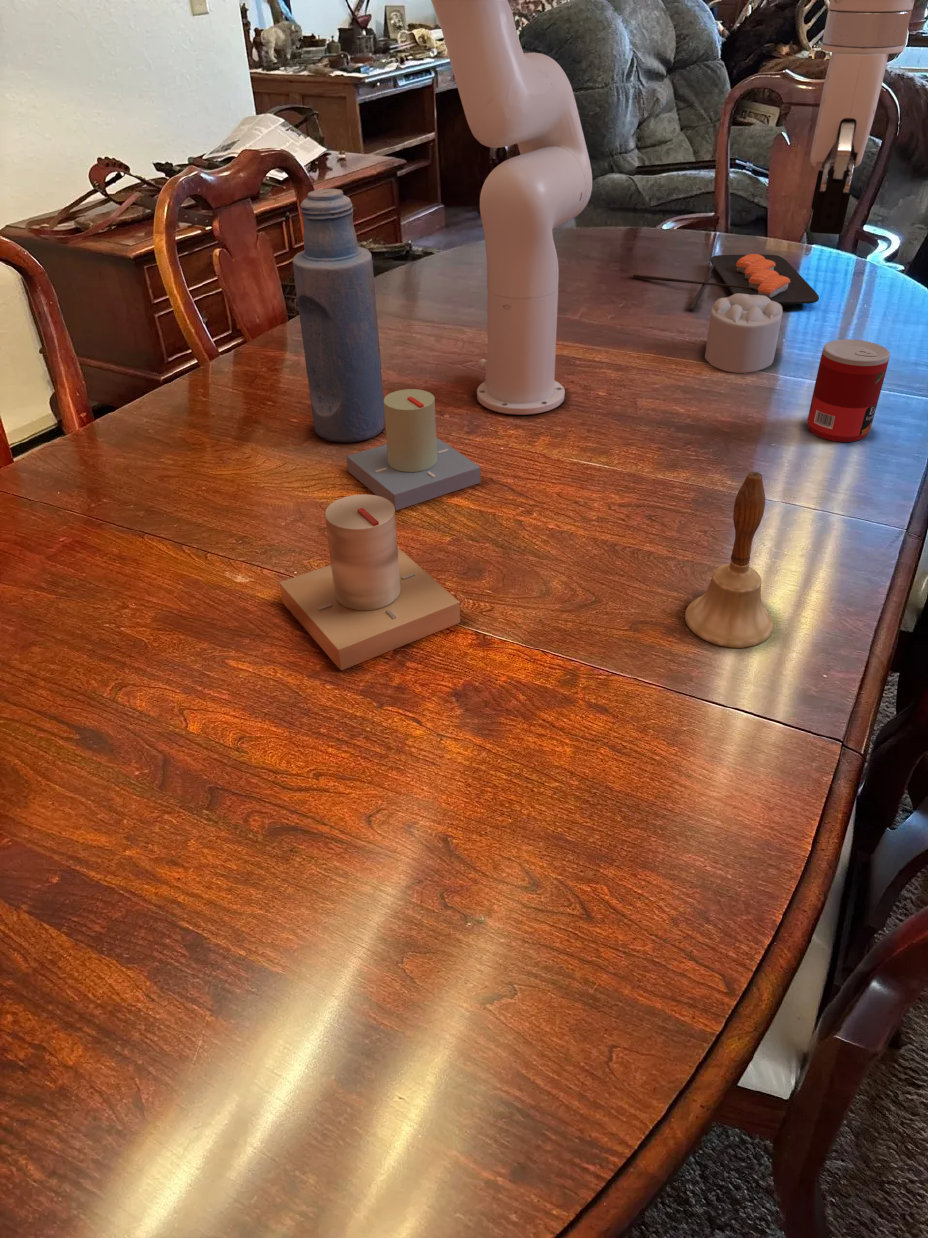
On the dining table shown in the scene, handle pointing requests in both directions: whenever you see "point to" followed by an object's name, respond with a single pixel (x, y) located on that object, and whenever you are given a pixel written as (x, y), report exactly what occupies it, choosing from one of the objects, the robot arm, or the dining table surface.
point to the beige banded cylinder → (363, 551)
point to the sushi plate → (756, 279)
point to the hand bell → (735, 582)
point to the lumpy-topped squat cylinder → (743, 333)
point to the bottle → (338, 322)
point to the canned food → (847, 389)
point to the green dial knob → (410, 430)
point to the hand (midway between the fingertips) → (825, 220)
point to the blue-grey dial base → (413, 475)
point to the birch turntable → (369, 614)
